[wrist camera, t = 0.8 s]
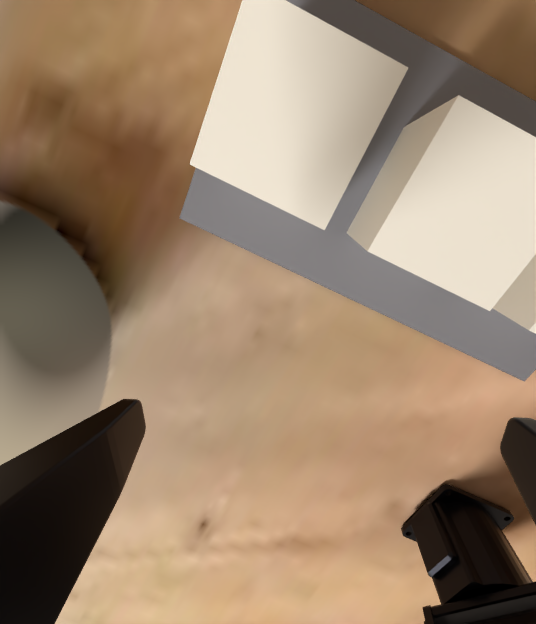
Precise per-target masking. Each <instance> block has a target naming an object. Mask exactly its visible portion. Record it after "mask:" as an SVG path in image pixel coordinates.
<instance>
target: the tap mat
mask: <svg viewBox="0 0 536 624" xmlns="http://www.w3.org/2000/svg"><path fill="white" fill-rule="evenodd" d="M286 1H288V2H290V3H291V4H293V5H295V6H297V7H299V8H301V9H302V10H304V11H306V12H308V13H310V14H312V15H313V16H315V17H317V18H319V19H321V20H323V21H324V22H326V23H328V24H330V25H332V26H333V27H335V28H337V29H339V30H341V31H343V32H344V33H346V34H348V35H350V36H352V37H354V38H355V39H357V40H359V41H361V42H363V43H365V44H366V45H368V46H370V47H372V48H374V49H375V50H377V51H379V52H381V53H383V54H385V55H386V56H388V57H390V58H392V59H394V60H396V61H397V62H399V63H401V64H403V65H405V66H407V67H408V70H407V72H406V74H405V76H404V78H403V79H402V81H401V83H400V85H399V87H398V89H397V91H396V93H395V95H394V97H393V99H392V101H391V103H390V105H389V107H388V108H387V110H386V112H385V114H384V116H383V118H382V120H381V122H380V124H379V126H378V128H377V130H376V132H375V134H374V136H373V138H372V139H371V141H370V143H369V145H368V147H367V149H366V151H365V153H364V155H363V157H362V159H361V161H360V163H359V165H358V167H357V169H356V170H355V172H354V174H353V176H352V178H351V180H350V182H349V184H348V186H347V188H346V190H345V192H344V194H343V196H342V198H341V199H340V201H339V203H338V205H337V207H336V209H335V211H334V213H333V215H332V217H331V219H330V221H329V223H328V225H327V227H326V229H325V230H323V229H321V228H319V227H317V226H315V225H313V224H310V223H308V222H306V221H304V220H302V219H300V218H298V217H296V216H294V215H292V214H290V213H288V212H286V211H284V210H282V209H280V208H278V207H276V206H274V205H272V204H270V203H268V202H265V201H263V200H261V199H259V198H257V197H255V196H253V195H251V194H249V193H247V192H245V191H243V190H241V189H239V188H237V187H235V186H233V185H231V184H229V183H227V182H225V181H223V180H220V179H218V178H216V177H214V176H212V175H210V174H208V173H206V172H204V171H202V170H200V169H198V168H196V170H195V173H194V176H193V179H192V182H191V185H190V188H189V191H188V194H187V197H186V200H185V203H184V206H183V209H182V212H181V215H180V219H182V220H184V221H186V222H189V223H191V224H193V225H195V226H197V227H199V228H201V229H203V230H205V231H208V232H210V233H212V234H214V235H216V236H218V237H220V238H222V239H224V240H227V241H229V242H231V243H233V244H235V245H237V246H239V247H241V248H244V249H246V250H248V251H250V252H252V253H254V254H256V255H258V256H260V257H263V258H265V259H267V260H269V261H271V262H273V263H275V264H277V265H279V266H282V267H284V268H286V269H288V270H290V271H292V272H294V273H296V274H298V275H301V276H303V277H305V278H307V279H309V280H311V281H313V282H315V283H317V284H320V285H322V286H324V287H326V288H328V289H330V290H332V291H334V292H336V293H339V294H341V295H343V296H345V297H347V298H349V299H351V300H353V301H355V302H358V303H360V304H362V305H364V306H366V307H368V308H370V309H372V310H375V311H377V312H379V313H381V314H383V315H385V316H387V317H389V318H391V319H394V320H396V321H398V322H400V323H402V324H404V325H406V326H408V327H410V328H413V329H415V330H417V331H419V332H421V333H423V334H425V335H427V336H429V337H432V338H434V339H436V340H438V341H440V342H442V343H444V344H446V345H448V346H451V347H453V348H455V349H457V350H459V351H461V352H463V353H465V354H467V355H470V356H472V357H474V358H476V359H478V360H480V361H482V362H484V363H486V364H489V365H491V366H493V367H495V368H497V369H499V370H501V371H503V372H506V373H508V374H510V375H512V376H514V377H516V378H518V379H520V380H522V381H525V380H526V379H527V378H528V377H529V376H530V375H531V374H532V373H533V372H534V371H535V370H536V334H535V333H533V332H531V331H529V330H528V329H526V328H524V327H523V326H521V325H519V324H518V323H516V322H514V321H513V320H511V319H509V318H508V317H506V316H504V315H503V314H501V313H500V312H498V311H496V310H495V309H493V308H492V309H491V310H490V311H488V310H486V309H484V308H482V307H480V306H478V305H476V304H474V303H472V302H470V301H468V300H466V299H464V298H462V297H460V296H458V295H456V294H454V293H452V292H449V291H447V290H445V289H443V288H441V287H439V286H437V285H435V284H433V283H431V282H429V281H427V280H425V279H423V278H421V277H419V276H417V275H415V274H413V273H411V272H409V271H407V270H405V269H402V268H400V267H398V266H396V265H394V264H392V263H390V262H388V261H386V260H384V259H382V258H380V257H378V256H376V255H374V254H372V253H370V252H368V251H366V250H365V249H364V248H363V247H362V246H361V245H360V244H358V243H357V242H356V241H355V240H354V239H353V238H352V237H350V236H349V235H348V234H347V231H348V229H349V227H350V225H351V223H352V222H353V220H354V218H355V216H356V214H357V212H358V211H359V209H360V207H361V205H362V203H363V201H364V200H365V198H366V196H367V194H368V192H369V190H370V189H371V187H372V185H373V183H374V181H375V179H376V178H377V176H378V174H379V172H380V170H381V168H382V167H383V165H384V163H385V161H386V159H387V157H388V156H389V154H390V152H391V150H392V148H393V146H394V145H395V143H396V141H397V139H398V137H399V135H400V134H401V132H402V130H403V128H404V127H405V126H407V125H408V124H410V123H412V122H413V121H415V120H417V119H419V118H420V117H422V116H424V115H425V114H427V113H429V112H431V111H432V110H434V109H436V108H437V107H439V106H441V105H443V104H444V103H446V102H448V101H449V100H451V99H453V98H455V97H456V96H458V95H459V96H461V97H463V98H465V99H467V100H469V101H470V102H472V103H474V104H476V105H478V106H480V107H481V108H483V109H485V110H487V111H489V112H491V113H492V114H494V115H496V116H498V117H500V118H502V119H503V120H505V121H507V122H509V123H511V124H512V125H514V126H516V127H518V128H520V129H522V130H523V131H525V132H527V133H529V134H531V135H533V136H534V137H536V101H534V100H532V99H530V98H529V97H527V96H525V95H523V94H521V93H520V92H518V91H516V90H514V89H512V88H511V87H509V86H507V85H505V84H503V83H502V82H500V81H498V80H496V79H494V78H493V77H491V76H489V75H487V74H486V73H484V72H482V71H480V70H478V69H477V68H475V67H473V66H471V65H469V64H468V63H466V62H464V61H462V60H460V59H459V58H457V57H455V56H453V55H451V54H450V53H448V52H446V51H444V50H443V49H441V48H439V47H437V46H435V45H434V44H432V43H430V42H428V41H426V40H425V39H423V38H421V37H419V36H417V35H416V34H414V33H412V32H410V31H408V30H407V29H405V28H403V27H401V26H400V25H398V24H396V23H394V22H392V21H391V20H389V19H387V18H385V17H383V16H382V15H380V14H378V13H376V12H374V11H373V10H371V9H369V8H367V7H365V6H364V5H362V4H360V3H358V2H357V1H355V0H286Z"/></svg>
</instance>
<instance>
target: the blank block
mask: <svg viewBox="0 0 536 624" xmlns="http://www.w3.org/2000/svg"><path fill="white" fill-rule="evenodd" d="M347 234H348V235H349V236H350V237H352V238H353V239H354V240H355V241H356V242H357V243H358V244H360V245H361V246H362V247H363V248H364V249H365V250H366V251H368V252H370V253H372V254H374V255H376V256H378V257H380V258H382V259H384V260H386V261H388V262H390V263H392V264H394V265H396V266H398V267H400V268H402V269H405V270H407V271H409V272H411V273H413V274H415V275H417V276H419V277H421V278H423V279H425V280H427V281H429V282H431V283H433V284H435V285H437V286H439V287H441V288H443V289H445V290H447V291H449V292H452V293H454V294H456V295H458V296H460V297H462V298H464V299H466V300H468V301H470V302H472V303H474V304H476V305H478V306H480V307H482V308H484V309H486V310H488V311H490V310H491V309H492V308H493V307H494V306H495V304H496V303H497V302H498V301H499V299H500V298H501V297H502V296H503V294H504V293H505V292H506V291H507V289H508V288H509V287H510V286H511V284H512V283H513V282H514V281H515V279H516V278H517V277H518V276H519V274H520V273H521V272H522V271H523V269H524V268H525V267H526V266H527V264H528V263H529V262H530V261H531V259H532V258H533V257H534V256H535V254H536V137H534V136H533V135H531V134H529V133H527V132H525V131H523V130H522V129H520V128H518V127H516V126H514V125H512V124H511V123H509V122H507V121H505V120H503V119H502V118H500V117H498V116H496V115H494V114H492V113H491V112H489V111H487V110H485V109H483V108H481V107H480V106H478V105H476V104H474V103H472V102H470V101H469V100H467V99H465V98H463V97H461V96H459V95H458V96H456V97H455V98H453V99H451V100H449V101H448V102H446V103H444V104H443V105H441V106H439V107H437V108H436V109H434V110H432V111H431V112H429V113H427V114H425V115H424V116H422V117H420V118H419V119H417V120H415V121H413V122H412V123H410V124H408V125H407V126H405V127H404V128H403V130H402V132H401V134H400V135H399V137H398V139H397V141H396V143H395V145H394V146H393V148H392V150H391V152H390V154H389V156H388V157H387V159H386V161H385V163H384V165H383V167H382V168H381V170H380V172H379V174H378V176H377V178H376V179H375V181H374V183H373V185H372V187H371V189H370V190H369V192H368V194H367V196H366V198H365V200H364V201H363V203H362V205H361V207H360V209H359V211H358V212H357V214H356V216H355V218H354V220H353V222H352V223H351V225H350V227H349V229H348V231H347Z"/></svg>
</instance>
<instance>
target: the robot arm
mask: <svg viewBox="0 0 536 624" xmlns="http://www.w3.org/2000/svg"><path fill="white" fill-rule="evenodd" d="M145 429H146V425H145V419H144V414H143V409H142V404H141V402H140V401H139V400H137V399H123V400H121V401H119V402H117V403H115V404H113V405H111V406H110V407H108V408H106V409H104V410H102V411H100V412H98V413H97V414H95V415H93V416H91V417H90V418H87V419H85V420H84V421H82V422H80V423H78V424H76V425H74V426H72V427H71V428H69V429H67V430H65V431H63V432H62V433H60V434H58V435H56V436H54V437H52V438H50V439H49V440H47V441H45V442H43V443H41V444H39V445H37V446H36V447H34V448H32V449H30V450H28V451H26V452H25V453H22V454H21V455H19V456H17V457H16V458H13V459H11V460H10V461H8V462H6V463H4V464H2V465H1V466H0V624H55V622H56V620H57V618H58V616H59V614H60V612H61V610H62V608H63V606H64V604H65V602H66V600H67V598H68V596H69V594H70V592H71V591H72V589H73V587H74V585H75V583H76V581H77V579H78V577H79V575H80V573H81V571H82V569H83V567H84V565H85V563H86V561H87V559H88V557H89V555H90V553H91V551H92V549H93V547H94V546H95V544H96V542H97V540H98V538H99V536H100V534H101V532H102V530H103V528H104V526H105V524H106V522H107V520H108V518H109V516H110V514H111V512H112V510H113V508H114V506H115V504H116V502H117V500H118V498H119V496H120V494H121V492H122V490H123V487H124V485H125V483H126V480H127V478H128V475H129V472H130V470H131V467H132V465H133V462H134V460H135V457H136V455H137V452H138V450H139V447H140V444H141V442H142V439H143V437H144V434H145ZM500 449H501V454H502V457H503V459H504V461H505V463H506V465H507V467H508V469H509V471H510V473H511V475H512V477H513V479H514V482H515V484H516V486H517V488H518V490H519V492H520V494H521V496H522V498H523V500H524V502H525V504H526V507H527V509H528V511H529V513H530V515H531V517H532V519H533V520H534V522H535V524H536V420H534V419H531V418H516V417H514V418H511V419H510V420H509V421H508V423H507V426H506V429H505V432H504V435H503V438H502V441H501V446H500ZM513 520H514V517H513V515H512V514H511V512H510V511H508V510H506V509H504V508H502V507H499V506H497V505H495V504H492V503H490V502H488V501H485V500H483V499H481V498H478V497H476V496H474V495H472V494H469V493H467V492H465V491H462V490H460V489H458V488H455V487H453V486H451V485H443V486H442V487H440V488H439V489H438V491H437V492H436V493H435V494H434V495H433V496H432V497H431V498H430V499H429V500H428V501H427V502H426V503H425V504H424V505H423V506H422V507H421V508H420V509H419V510H418V511H417V512H416V513H415V514H414V515H413V516H412V517H411V518H410V519H409V520H408V521H407V522H406V523H405V525H404V526H403V527H402V528H401V531H402V534H403V536H404V537H406V538H409V539H411V540H414V541H416V542H417V543H418V546H419V549H420V552H421V555H422V558H423V561H424V564H425V567H426V570H427V573H428V575H429V576H430V577H432V579H433V582H434V585H435V588H436V590H437V593H438V596H439V599H440V602H441V605H437V606H432V607H431V606H430V605H429V606H425V607H423V612H424V617H425V621H424V624H536V582H533V581H532V580H531V578H530V576H529V575H528V573H527V571H526V570H525V568H524V566H523V565H522V563H521V561H520V560H519V558H518V556H517V555H516V553H515V551H514V550H513V548H512V546H511V545H510V543H509V541H508V540H507V538H506V536H505V535H504V533H503V531H502V529H504V528H505V527H506V526H507V525H508V524H510V523H511V522H512V521H513Z"/></svg>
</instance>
